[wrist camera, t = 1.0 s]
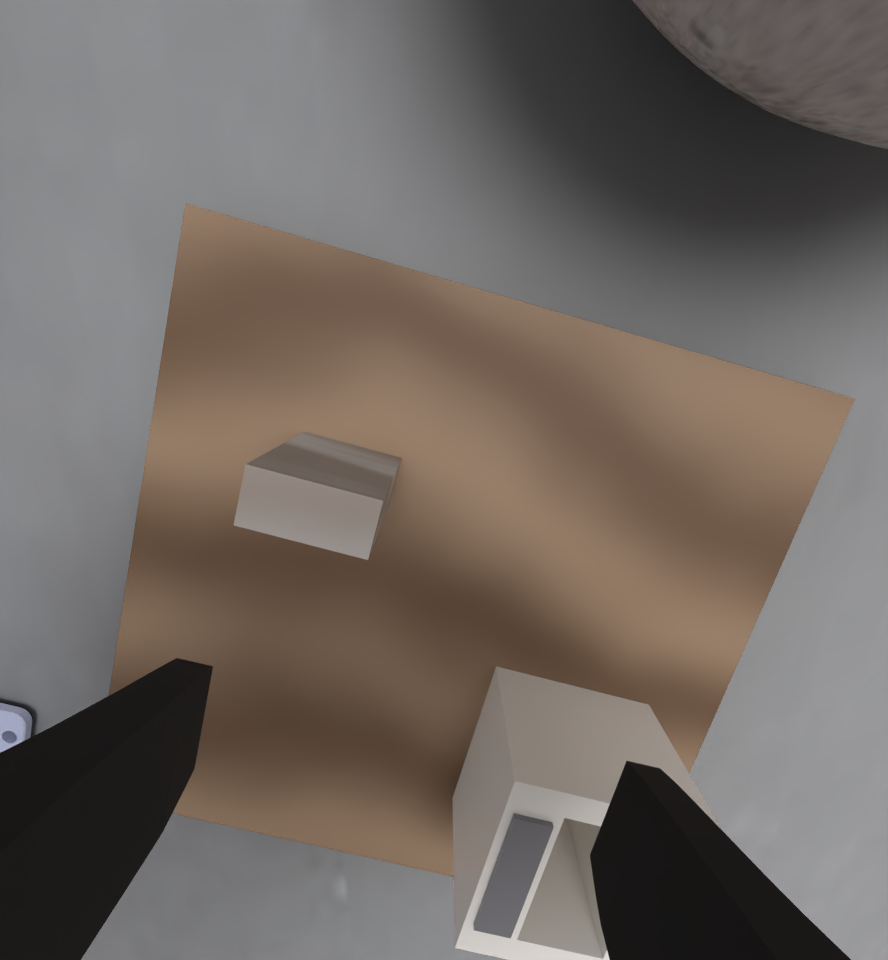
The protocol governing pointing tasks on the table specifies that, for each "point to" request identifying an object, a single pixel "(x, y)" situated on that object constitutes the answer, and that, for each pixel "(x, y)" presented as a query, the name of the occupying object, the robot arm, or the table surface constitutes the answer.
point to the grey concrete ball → (791, 57)
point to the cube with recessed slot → (544, 813)
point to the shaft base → (434, 527)
